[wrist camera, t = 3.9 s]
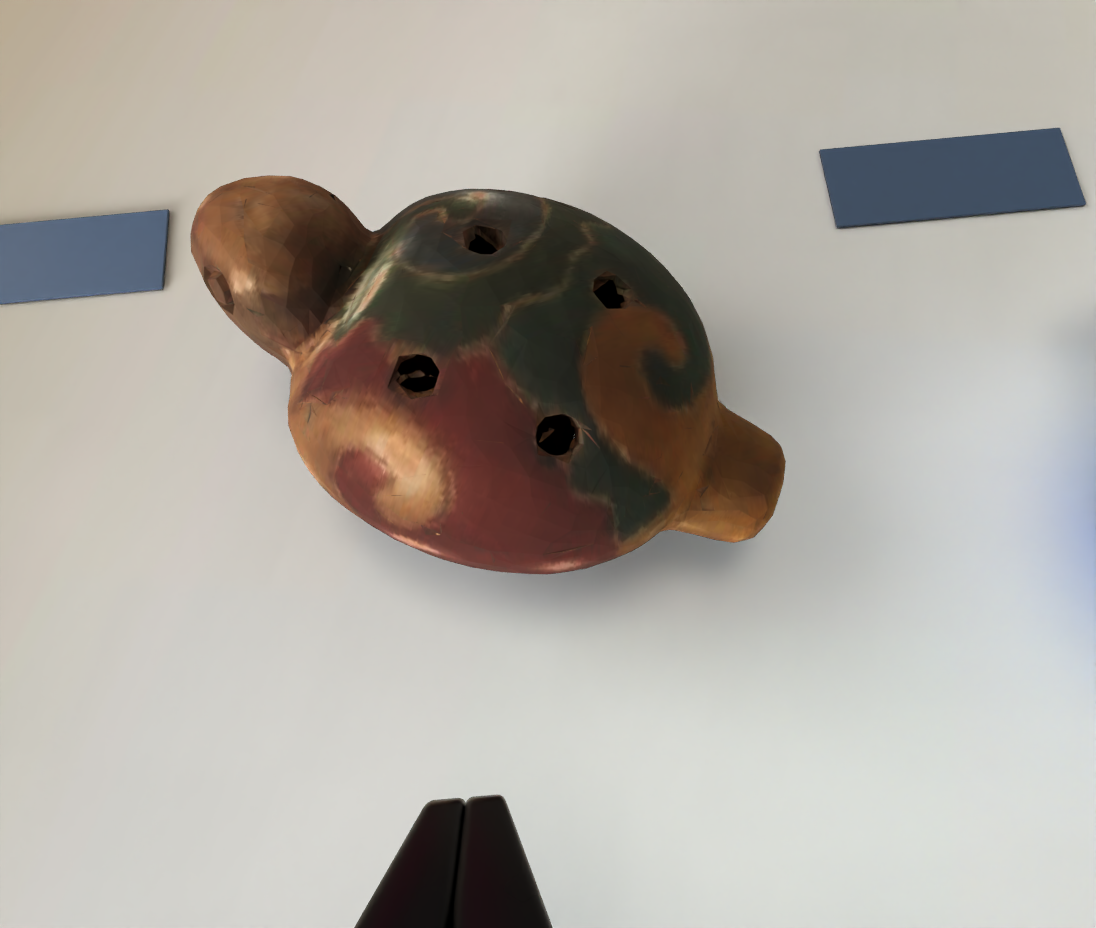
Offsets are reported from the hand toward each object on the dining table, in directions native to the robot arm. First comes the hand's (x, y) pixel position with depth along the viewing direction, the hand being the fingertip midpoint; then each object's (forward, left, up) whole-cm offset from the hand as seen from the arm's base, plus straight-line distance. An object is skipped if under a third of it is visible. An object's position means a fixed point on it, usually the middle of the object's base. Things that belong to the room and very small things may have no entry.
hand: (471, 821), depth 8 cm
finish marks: (+10, -13, -12) cm, 21 cm away
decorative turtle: (+5, -7, -13) cm, 16 cm away
